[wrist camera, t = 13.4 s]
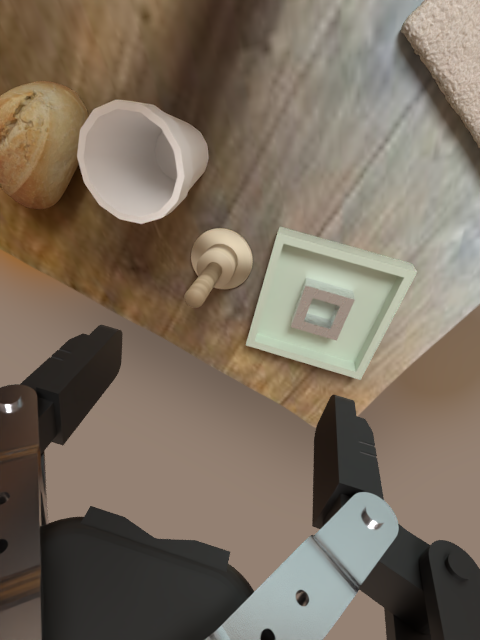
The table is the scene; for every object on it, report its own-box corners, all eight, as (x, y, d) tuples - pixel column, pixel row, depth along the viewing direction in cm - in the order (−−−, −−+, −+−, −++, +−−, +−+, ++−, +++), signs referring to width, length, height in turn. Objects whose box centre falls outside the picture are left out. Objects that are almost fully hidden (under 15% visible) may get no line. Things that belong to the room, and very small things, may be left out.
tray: (279, 226, 42) (277, 232, 40) (411, 263, 42) (417, 272, 39) (249, 334, 51) (245, 345, 48) (358, 367, 50) (360, 379, 47)
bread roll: (5, 174, 46) (-50, 183, 39) (39, 57, 39) (-21, 43, 32) (69, 221, 48) (27, 237, 41) (113, 116, 40) (71, 115, 33)
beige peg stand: (197, 220, 44) (160, 250, 34) (259, 237, 44) (240, 274, 33) (188, 277, 48) (152, 320, 38) (244, 294, 48) (224, 342, 37)
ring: (306, 277, 44) (305, 285, 42) (353, 290, 44) (355, 299, 42) (292, 317, 47) (290, 326, 45) (335, 330, 47) (336, 340, 45)
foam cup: (130, 163, 42) (62, 179, 31) (165, 85, 38) (100, 71, 27) (196, 212, 44) (154, 243, 32) (238, 142, 39) (205, 152, 28)
